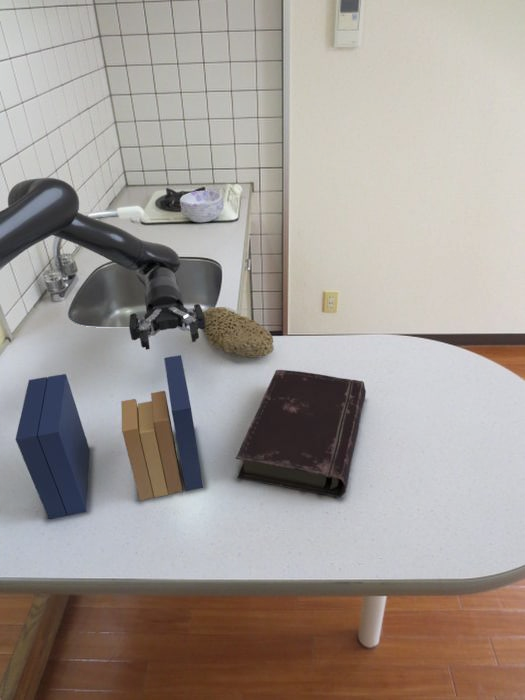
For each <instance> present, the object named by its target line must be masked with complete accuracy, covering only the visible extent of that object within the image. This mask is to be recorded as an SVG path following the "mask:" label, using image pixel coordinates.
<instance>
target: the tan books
mask: <svg viewBox="0 0 525 700" xmlns="http://www.w3.org/2000/svg"><path fill="white" fill-rule="evenodd" d="M150 399H151V400H149V401H143V402H138V401H137V399H136V398H132V399H126V400H121V433H122V436H123V441H124V444H125V448H126V452H127V456H128V459H129V463H130V467H131V471H132V475H133V479H134V483H135V487H136V491H137V494H138V499H139V501H145V500H149V499H153V498H159V497H164V496H168V495H173V494H179V493H183V486H182V479H181V472H180V471H181V470H180V465H179V459H178V458H179V457H178V452H177V449H176V448H177V447H176V442H175V435H174V431H173V426H172V420H171V414H170V408H169V405H168V398H167V393H166V390H159V391H155V392H151V393H150Z"/></svg>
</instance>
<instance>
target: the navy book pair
mask: <svg viewBox="0 0 525 700" xmlns="http://www.w3.org/2000/svg"><path fill="white" fill-rule="evenodd" d="M15 442H16V444H17V446H18V450H19V451H20V454H21V457H22V458H23V461H24V464H25V465H26V468H27V471H28V474H29V476H30V478H31V480H32V483H33V485H34V487H35V490H36V492H37V495H38V497H39V499H40V502H41V504H42V507H43V509H44V512H45V514H46V517H47V518H48V520H53V519H58V518H63V517H67V516H71V515H76V514H82V513H86V512H87V510H88V509H87V507H88V506H87V505H88V489H89V472H90V454H91V453H90V452H91V450H90V446H89V444H88V440H87V437H86V433H85V430H84V426H83V423H82V421H81V417H80V415H79V411H78V408H77V404H76V401H75V398H74V395H73V392H72V388H71V385H70V382H69V378H68V375H67V373H62V374H57V375H50V376H44V377H37V378H32V379H28V382H27V386H26V391H25V396H24V400H23V404H22V409H21V414H20V418H19V422H18V426H17V431H16V435H15Z"/></svg>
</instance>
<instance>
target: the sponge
mask: <svg viewBox="0 0 525 700" xmlns="http://www.w3.org/2000/svg"><path fill="white" fill-rule="evenodd" d="M203 314H204V316H205V324H206V328H205V329H201V330H202V332H203V333H204V334H205V336H206V337H207V340H208V341H209V343H210V344H211V345H212V346H214V347H215V348H217V349H219V350H220V351H224V352H225V353H228V354H231V355H239V356H244V357H248V358H254V357H255V358H263V357H267V356H268V355H270V354H271V353H272V352H273V351H274V337H273V335H272V334H271V332H270V331H269V330H268V329H267V328H266V327H264V326H262V324H260V323H258V322H257V321H256V320H253V319H250V318H249V317H248V316H242V315H241V314H239V313H237V312H236V310H235V309H232V308H229V307H227V306H212V307H209V308H207V309H206V310H204V311H203Z"/></svg>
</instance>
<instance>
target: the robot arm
mask: <svg viewBox="0 0 525 700" xmlns="http://www.w3.org/2000/svg"><path fill="white" fill-rule="evenodd" d="M79 210H80V199H79V195H78V193H77V192H76V189H75V188H74V187H73V186H72V185H70V183H68V182H67V181H65V180H62V179H59V178H54V177H39V178H30V179H26V180H22V181H20V182H17V183H16V184H15V185H13V187H11V189H10V191H9V193H8V196H7V207H6V208H4V209H2V210H0V269H2V268H3V267H5V266H7V265H8V264H9V263H11V262H12V261H13V260H14V259H16V258H17V257H18V256H19V255H21V254H22V253H24V252H25V251H26V250H28V249H30V248H31V247H33V246H34V245H36V244H38V243H40V242H42V241H44V240H46V239H48V238H50V237H53V236H54V237H56V238H59V239H62V240H65V241H67V242H70V243H72V244H75V245H78V246H79V247H81V248H84V249H86V250H88V251H91V252H92V253H95V254H97V255H99V256H101V257H103V258H105V259H107V260H109V261H111V262H113V263H115V264H117V265H119V266H121V267H122V268H124V269H127V270H130V271H136V277H137V279H138V280H139V282H140V283H142V284H143V286H144V289H145V292H144V301H145V310H146V313H145V314H144V315H141V316H138V315H137V313H131V314H130V315H129V325H128V326H129V327H128V329H129V333H130V338H131V340H132V341H137V340H138V339H139V341H140V345H141V348H145V351H147V350H150V349H151V348H150V347H151V346H150V337H152V336H153V337H154V336H155V335H157V333H160V331H166V330H174V329H179V330H181V331H184V332H185V331H189V334H190V337H191V343H196V342H197V340H199V338H200V334H199V330H202V329H205V328H206V324H205V316H204V314H203V312H204V311H203V309H202V307H201V305H200V303H196V304H194V305H193V308H186V307H185V304H184V301H183V296H182V292H181V289H180V287H179V284H178V279H177V276H176V274H175V273H176V272H177V271H178V270H179V269H180V267H181V258H180V256H179V254H178V253H177V252H176V250H174V249H173V248H171V247H170V246H167V245H165V244H161V243H157V242H151V241H147V240H144V239H140V238H139V237H137V236H135V235H134V234H132V233H130V232H128V231H127V230H124V229H123V228H120V227H118V226H116V225H113V224H111V223H107V222H106V221H105V222H104V221H103V220H102V221H101V220H98V219H96V218H92V217H90V216H88V215H85V214H83V213H80V212H79Z"/></svg>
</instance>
